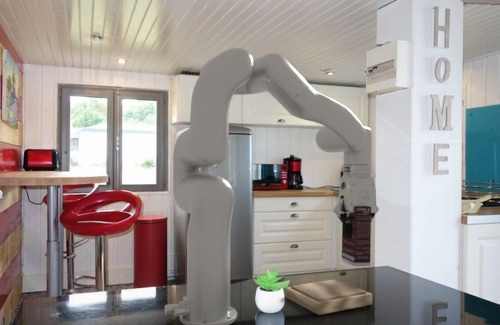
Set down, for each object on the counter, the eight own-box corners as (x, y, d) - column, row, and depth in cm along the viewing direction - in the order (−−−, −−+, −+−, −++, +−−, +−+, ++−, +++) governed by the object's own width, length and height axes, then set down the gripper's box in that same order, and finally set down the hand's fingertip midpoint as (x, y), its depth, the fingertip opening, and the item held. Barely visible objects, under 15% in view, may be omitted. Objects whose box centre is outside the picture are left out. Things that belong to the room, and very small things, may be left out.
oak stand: (318, 314, 92) (318, 301, 92) (285, 297, 104) (285, 285, 104) (372, 304, 99) (372, 291, 99) (335, 288, 111) (335, 277, 112)
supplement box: (371, 266, 108) (372, 206, 109) (354, 266, 107) (355, 206, 108) (356, 259, 117) (357, 203, 117) (340, 259, 116) (341, 203, 116)
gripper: (341, 171, 105) (340, 241, 105) (390, 172, 113) (389, 237, 113) (323, 170, 112) (322, 236, 112) (371, 172, 120) (370, 233, 119)
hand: (356, 236), depth 112 cm, fingers closed on supplement box, 5 cm apart
